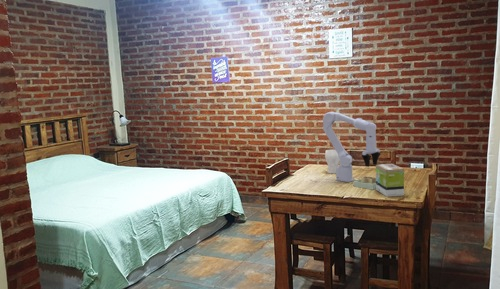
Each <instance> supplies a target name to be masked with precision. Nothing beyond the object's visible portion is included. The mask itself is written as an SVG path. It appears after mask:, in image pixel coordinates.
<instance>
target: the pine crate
mask: <svg viewBox="0 0 500 289" xmlns="http://www.w3.org/2000/svg"><path fill="white" fill-rule="evenodd" d="M360 179H361V182H363V183H368V184H375V183H376V177H373V176H367V175H366V176H363V177H361V178H360Z"/></svg>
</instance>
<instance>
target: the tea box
mask: <svg viewBox="0 0 500 289" xmlns="http://www.w3.org/2000/svg"><path fill="white" fill-rule="evenodd" d="M375 178H376V189H375V191H378V192H379V193H380V194H382V195H383V196H385V197H387V198H388V197H402V196H405V168H403V167H400V166H398V165H396V164H394V163H384V164H377V165H375Z"/></svg>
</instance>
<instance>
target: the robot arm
mask: <svg viewBox="0 0 500 289" xmlns="http://www.w3.org/2000/svg"><path fill="white" fill-rule="evenodd" d="M338 121H342V122H346V123H348V124H351V125H353V127H354V128H356V129H358V130H361V131H365V132H366V135H365V143H366V144H365V146H366V147H365V150H363V151H362V153H361V157H362V159H363V162H364V165H365V167H370V163H371V159H372V165H375V166H376V165H378V161H379V158H380V156H381V152H380V148H377V132H376V130H377V125H376V123H374V122H371V121H370V120H364V119H363V117H357V118H354V117H351V116H348V115H345V114H343V113H340V112H335V111H333V110H332V111H329V112H326V113H324V115H323V118H322V129H323V132H324V133H325V135H326V137H327V139H328V140H329V142H330V143H331V146H332V147H333V148H334V150H336V152H337V154H338V157H339V159H340V162H339V164H340V165H338V167H337V169H336V173H335V174H336V177H335V181H339V182H344V183H349V182H353V181H356V179H354V178H353V165H352V163H353V157H352V155H351V154H349V153H348V151H346V150H345V148H344V146H343V144H342V142H341V141H340V139H339V137H338V136H337V135H336V132H335V130H334V129H333V127H334V126H333V125H334V123H335V122H338Z"/></svg>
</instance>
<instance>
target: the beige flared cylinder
mask: <svg viewBox="0 0 500 289" xmlns="http://www.w3.org/2000/svg"><path fill="white" fill-rule="evenodd" d="M324 152H325V153H324V158H325V162H326V164H327V174H336V169H337V167H338V166H339V164H340V159H339V157H338V154H337V152H336V150H335V149H326V150H325V151H324Z"/></svg>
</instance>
